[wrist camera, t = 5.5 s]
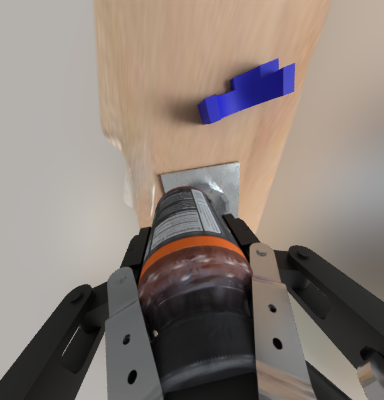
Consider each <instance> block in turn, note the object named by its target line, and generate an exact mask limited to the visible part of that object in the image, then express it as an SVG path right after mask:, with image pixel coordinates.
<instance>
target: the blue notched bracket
mask: <svg viewBox="0 0 384 400" xmlns="http://www.w3.org/2000/svg"><path fill="white" fill-rule="evenodd" d="M294 76H295V63H294V64H291V65H288V66H286V67H283V68H282V69H280V70H279V61H278V59H275V60H273V61H270V62H268V63H265V64H263V65H260V66H258V67H256V68H254V69H252V70H250V71H248V72H246V73H244V74H242V75H240V76H237V77H235V78H233V79H232V80H231V81H230V83H231V89H232V91H231V92H228V93H226V94H223V95H219V96H216V94H215V95H213V96H210V97H208V98H205V99H204V100H203V101H202V102H201V103H200V104H199V105H198V108H199V112H200V116H201V119H202V123H203V125H205V124H211V123H214V122H216V121H219V120H221V118H223V117H226V116H228V115H230V114H233V113H236V112H238V111H241V110H243V109H246V108H249V107H251V106H254V105H257V104H260V103H263V102H265V101H268V100H271V99H274V98H277V97H280V96H284V95H286V94H289V93H291V92H294Z"/></svg>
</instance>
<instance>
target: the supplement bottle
mask: <svg viewBox="0 0 384 400" xmlns="http://www.w3.org/2000/svg"><path fill="white" fill-rule="evenodd" d="M251 276H253V271H252V268H251V266H250V264H249V263H248V261H247V259H246V258H245V256H244V254H243V252H242V250H241V249H240V247H239V246H238V244H237V242H236V240H235V239H234V237H233V235H232V234H231V232H230V230H229V228H228V227H227V225H226V223H225V222H224V220H223V218H222V217H221V215H220V213H219V211H218V210H217V208H216V206H215V204H214V203H213V201H212V200H211V198H210V197H209V196H208V195H207V194H206V193H205V192H204V191H202V190H201V189H198V188H196V187H192V186H181V187H177V188H174V189H171V190H170V191H168V192H167V193H165V194H164V195H163V196H162V198H161V199H160V201H159V202H158V204H157V207H156V210H155V215H154V219H153V223H152V228H151V232H150V236H149V240H148V245H147V249H146V253H145V258H144V262H143V266H142V272H141V275H140V280H139V284H138V298H139V299H140V301H141V304H142V307H143V309H144V312H145V314H146V316H147V318H148V320H149V322H150V324H151V325H152V327H153V329H154V330H155V331H157V333H158V335H157V336H156V337H155V338H154V341H153V343H152V345H153V347H154V352H155V357H156V362H157V367H158V372H159V376H160V381H161V384H162V387H163V389H164V391H165V393H168V392H173V391H177V390H181V389H185V388H189V387H193V386H197V385H201V384H205V383H209V382H213V381H217V380H221V379H226V378H230V377H233V376H237V375H241V374H245V373H250V372H254V369H255V348H254V337H253V325H252V319H251V318H250V289H251Z"/></svg>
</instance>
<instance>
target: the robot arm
mask: <svg viewBox="0 0 384 400" xmlns="http://www.w3.org/2000/svg"><path fill="white" fill-rule="evenodd" d="M222 218H223V220H224V222H225V223H226V225H227V227H228V228H229V230H230V232H231V234H232V235H233V237H234V239H235V240H236V242H237V244H238V246H239V247H240V249H241V250H242V252H243V254H244V256H245V258H246V259H247V261H248V263H249V264H250V266H251V268H252V271H253V276H251V289H250V318H251V319H252V325H253V337H254V348H255V369H254V372H250V373H245V374H241V375H237V376H233V377H230V378H226V379H221V380H217V381H213V382H209V383H205V384H201V385H197V386H193V387H189V388H185V389H181V390H177V391H173V392H168V393H165V391H164V389H163V387H162V384H161V381H160V376H159V372H158V367H157V362H156V357H155V352H154V347H153V345H152V343H153V341H154V338H155V337H156V336H157V332H156V331H155V330H154V329H153V327H152V325H151V324H150V322H149V320H148V318H147V316H146V314H145V312H144V309H143V307H142V304H141V301H140V299H139V298H138V284H139V280H140V275H141V272H142V266H143V262H144V258H145V253H146V249H147V245H148V240H149V236H150V232H151V227H146V228H141V229H140V232H139V235H136V236H134V237H133V239H132V240H131V241H130V244H129V247H128V249H127V252H126V254H125V257H124V259H123V261H122V264H121V266H120V269H118V270H116V271H115V272H114V273H113V274H112V275H111V276H110V278H109V279H108V281H107V282H105V283H103V284H101V285H99V286H97V287H94V288H92V287H91V286H90V285H88V284H84V285H81V286H78V287H76V288H75V289H73V290H72V291H71V292H70V293H68V294H67V295H66V297H65V298H64V299H63V300H62V302H61V303H60V304H59V305H58V307H57V308H56V309H55V311H54V312H53V313H52V314H51V316H50V317H49V319H48V320H47V321H46V322H45V323H44V325H43V326H42V328H41V329H40V330H39V331H38V333H37V334H36V335H35V336H34V338H33V339H32V340H31V342H30V343H29V344H28V346H27V347H26V348H25V349H24V351H23V352H22V353H21V355H20V356H19V357H18V359H17V360H16V361H15V362H14V363H13V365H12V366H11V367H10V369H9V370H8V371H7V373H6V374H5V375H4V376H3V378H2V379H1V380H0V400H75V398H76V395H77V393H78V391H79V389H80V386H81V384H82V382H83V379H84V377H85V375H86V373H87V371H88V368H89V366H90V364H91V362H92V359H93V357H94V355H95V353H96V350H97V348H98V346H99V344H100V341H101V339H102V337H103V335H104V332H105V342H106V366H107V390H108V391H107V392H108V400H352V399H351V398H349V397H348V396H347V395H346V394H345V393H344V392H342V391H341V390H340V389H339V388H338V387H336V386H335V385H334V384H333V383H332V382H331V381H329V380H328V379H327V378H326V377H325V376H324V375H322V374H321V373H320V372H319V371H318V370H317V369H315V368H314V367H313V366H312V365H311V364H310V363H309V362H307V361H306V360H305V358H304V354H303V351H302V347H301V343H300V339H299V335H298V331H297V327H296V323H295V319H294V315H293V311H292V307H291V303H290V299H289V295H288V292H289V293H290V294H291V295H292V296H293V298H294V299H295V300H296V301H297V302H298V303H299V304H300V306H301V307H302V308H303V309H304V310H305V311H306V312H307V314H308V315H309V316H310V317H311V318H312V319H313V320H314V321H315V323H316V324H317V325H318V326H319V327H320V328H321V330H322V331H323V332H324V333H325V334H326V335H327V336H328V338H329V339H330V340H331V341H332V342H333V343H334V344H335V346H336V347H337V348H338V349H339V350H340V351H341V352H342V354H343V355H344V356H345V357H346V358H347V359H348V360H349V361H350V363H351V364H352V365H353V366H354V367H355V368H356V369H357V375H358V378H359V381H360V383H361V385H362V387H363V389H364V392H365V395H366V397H367V398H368V400H384V302H383V301H381V300H380V299H379V298H377V297H376V296H375V295H373V294H372V293H370V292H369V291H368V290H366V289H365V288H363V287H362V286H361V285H359V284H358V283H356V282H355V281H354V280H352V279H351V278H349V277H348V276H347V275H345V274H344V273H343V272H341V271H340V270H338V269H337V268H336V267H334V266H333V265H331V264H330V263H329V262H327V261H326V260H324V259H323V258H322V257H320V256H319V255H317V254H316V253H315V252H313V251H312V250H310V249H308V248H306V247H303V246H298V245H295V246H291V247H290V248H289V251H277V250H273V249H272V248H271V247H270V246H268V245H266V244H264V243H261V242H260V241H259V240H258V238H257V237H256V236H255V235H254V233H253V232H252V231H251V230H250V228H249V227H248V226H247V225H246V223H245V222H244V221H243V220H241V219H239V218H235V217H234V216H233V215H232V213H229V214H223V215H222ZM313 284H314V285H315V286H316V287H317V288H318V289H317V288H316V287H315V286H314V285H313ZM78 327H79V328H78ZM77 328H78V330H77ZM76 330H77V332H76ZM75 332H76V334H75V335H74V333H75ZM73 335H74V337H73ZM72 337H73V339H72ZM71 339H72V340H71ZM70 340H71V342H70ZM69 342H70V344H69ZM68 344H69V346H68V347H67V345H68ZM66 347H67V349H66ZM65 349H66V351H65V352H64V350H65ZM63 352H64V354H63ZM62 354H63V356H62Z"/></svg>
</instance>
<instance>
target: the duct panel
mask: <svg viewBox="0 0 384 400" xmlns="http://www.w3.org/2000/svg"><path fill="white" fill-rule="evenodd" d="M239 174H240V162H232V163H226V164H220V165H214V166H208V167H202V168H196V169H189V170H183V171H177V172H171V173H165V174H161V179H162V183H163V187H164V191H165V193H167V192H168V191H170V190H171V189H174V188H177V187H181V186H192V187H196V188H198V189H201V190H202V191H204V192H205V193H206V194H207V195H208V196H209V197H210V198H211V200H212V201H213V203H214V204H215V206H216V208H217V210H218V211H219V213H220V215H221V217H222V215H223V214H229V213H232V215H233V216H234V217H235V218H238V203H239Z"/></svg>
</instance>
